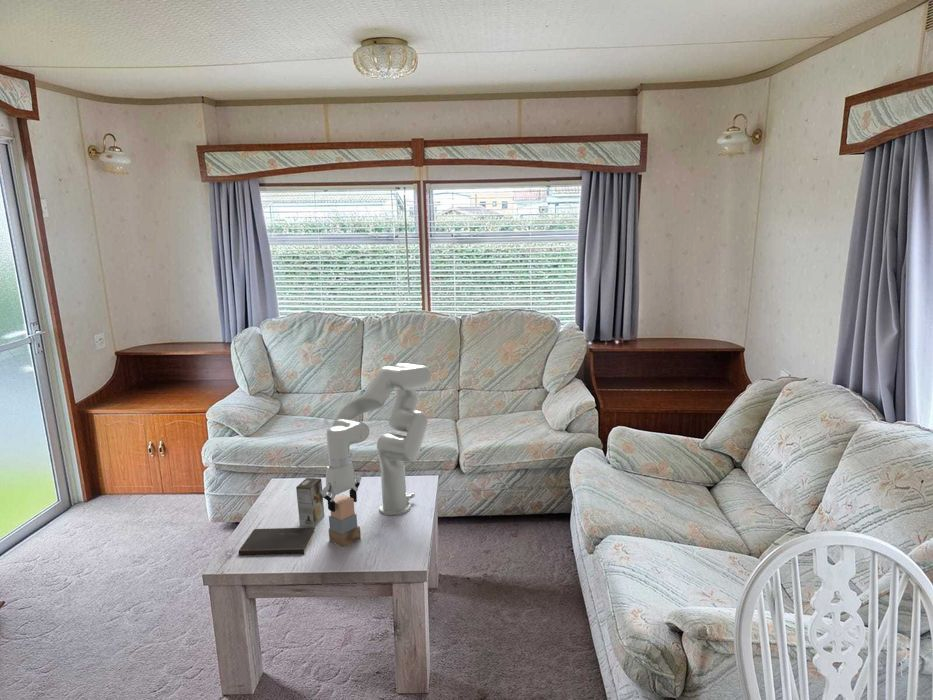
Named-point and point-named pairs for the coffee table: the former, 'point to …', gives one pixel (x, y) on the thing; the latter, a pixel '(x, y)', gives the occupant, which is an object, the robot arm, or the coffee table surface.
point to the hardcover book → (277, 541)
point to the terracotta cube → (343, 507)
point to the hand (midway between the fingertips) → (342, 505)
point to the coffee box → (310, 502)
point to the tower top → (343, 524)
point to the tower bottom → (345, 537)
